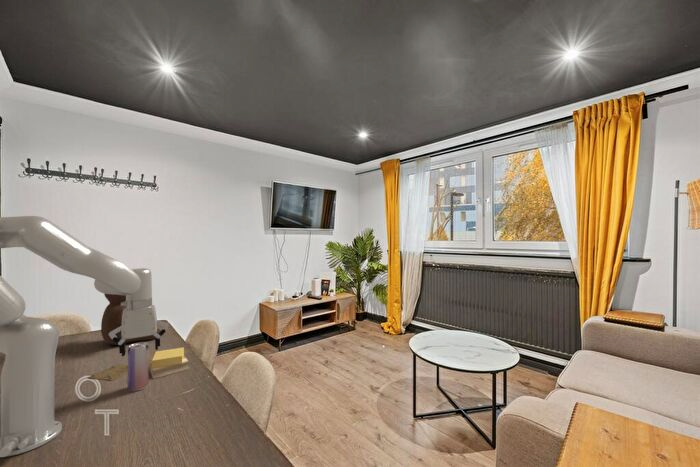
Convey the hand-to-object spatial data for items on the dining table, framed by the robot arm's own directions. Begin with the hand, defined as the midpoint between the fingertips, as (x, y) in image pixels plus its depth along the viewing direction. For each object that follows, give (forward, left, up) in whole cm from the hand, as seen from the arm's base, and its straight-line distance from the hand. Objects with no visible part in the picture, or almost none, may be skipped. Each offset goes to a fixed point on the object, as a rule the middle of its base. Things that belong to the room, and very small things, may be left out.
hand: (140, 351), depth 105 cm
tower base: (+12, -8, -12) cm, 19 cm away
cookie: (+19, +10, -13) cm, 25 cm away
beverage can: (0, +1, -13) cm, 13 cm away
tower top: (+12, -8, -9) cm, 17 cm away
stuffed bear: (+60, +9, -13) cm, 61 cm away
